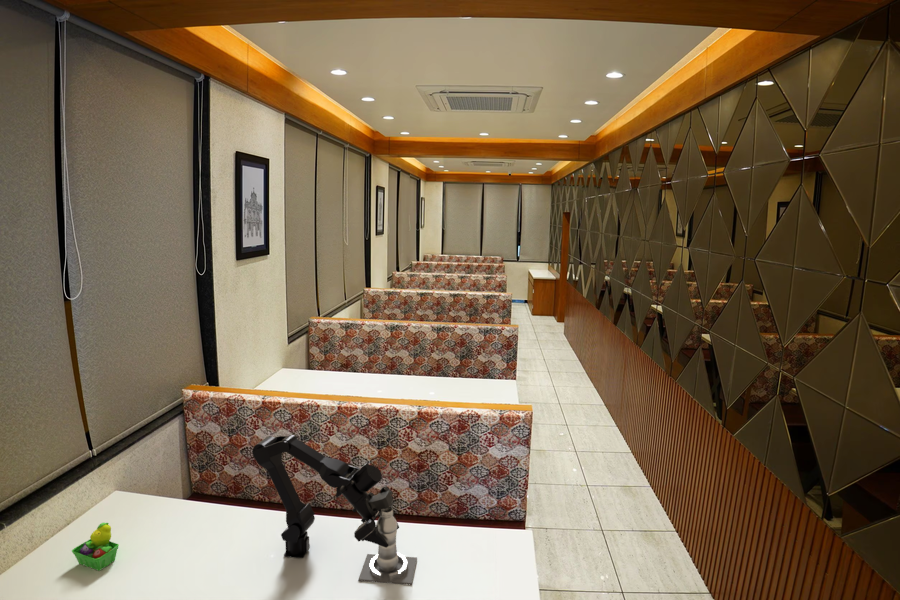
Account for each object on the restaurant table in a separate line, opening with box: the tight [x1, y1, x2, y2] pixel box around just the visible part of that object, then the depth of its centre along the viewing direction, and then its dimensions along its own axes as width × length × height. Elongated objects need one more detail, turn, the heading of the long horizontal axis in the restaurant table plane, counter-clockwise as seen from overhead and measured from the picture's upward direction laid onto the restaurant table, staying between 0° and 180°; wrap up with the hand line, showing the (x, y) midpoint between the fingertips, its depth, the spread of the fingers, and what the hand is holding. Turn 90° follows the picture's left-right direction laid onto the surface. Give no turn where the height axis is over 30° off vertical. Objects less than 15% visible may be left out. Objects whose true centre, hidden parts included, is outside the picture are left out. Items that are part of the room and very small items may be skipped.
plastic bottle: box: [375, 506, 398, 572], centre depth 162 cm, size 6×7×20 cm
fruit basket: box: [71, 522, 120, 571], centre depth 164 cm, size 11×9×11 cm
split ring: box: [370, 551, 407, 581], centre depth 163 cm, size 11×11×2 cm
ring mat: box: [358, 553, 418, 586], centre depth 164 cm, size 16×12×1 cm
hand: (392, 537), depth 161 cm, fingers open, 9 cm apart
